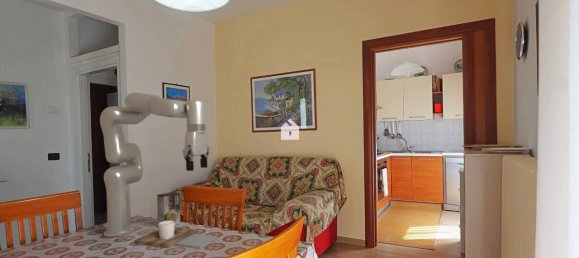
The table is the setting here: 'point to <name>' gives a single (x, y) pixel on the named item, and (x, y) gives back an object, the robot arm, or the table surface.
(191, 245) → the ceramic tile
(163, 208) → the coffee box
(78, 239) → the table surface
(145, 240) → the pocket board
